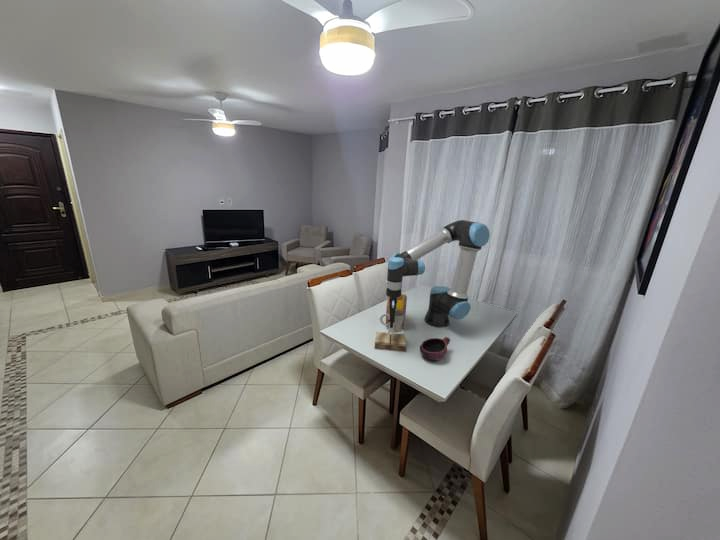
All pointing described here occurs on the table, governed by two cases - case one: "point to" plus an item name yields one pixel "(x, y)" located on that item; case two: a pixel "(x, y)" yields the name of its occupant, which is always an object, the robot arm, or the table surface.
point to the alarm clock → (398, 307)
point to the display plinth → (390, 341)
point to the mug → (398, 320)
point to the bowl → (434, 348)
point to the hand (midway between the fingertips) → (391, 329)
